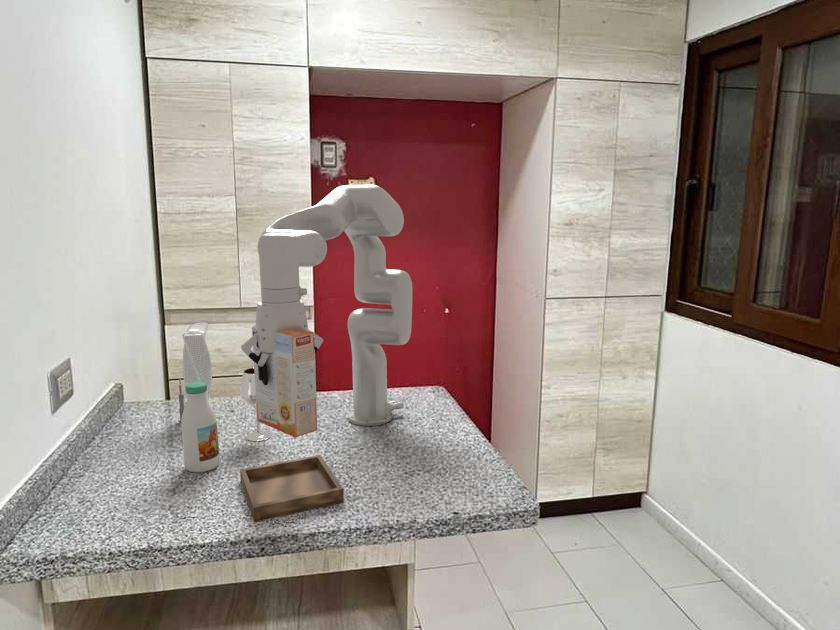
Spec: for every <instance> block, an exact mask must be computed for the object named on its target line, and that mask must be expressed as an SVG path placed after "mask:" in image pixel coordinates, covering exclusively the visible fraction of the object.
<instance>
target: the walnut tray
mask: <svg viewBox="0 0 840 630" xmlns="http://www.w3.org/2000/svg"><path fill="white" fill-rule="evenodd" d="M239 473H240V474H239V475H240V483H241V486H242V490H243V492H244V495H245V498H246V501H247V505H248V508H249V510H250V514H251V516H252V519H253V520H252V521H253V522H254V523H257V522H261V521H267V520H269V519H275V518H279V517H280V518H281V517H283V516H287V515H292V514H293V515H294V514H297V513H302V512H307V511H311V510H315V509H320V508H325V507H329V506H333V505H337V504H342V503H345V500H344V498H345V497H344V496H345V494H344V488H343V486H342V485H341V483H340V481H339V480H338V479H337V477H336V476H335V474H334V473H333V471H332V470H331V468H330V466H329V465H328V464H327V462H326V461H325V459H324V458H323V456H322V455H321V454H317V455H311V456H307V457H301V458H295V459H290V460H285V461H284V460H283V461H279V462H274V463H268V464H263V465H256V466H252V467H251V466H250V467H247V468H242V469H241V468H240V469H239Z"/></svg>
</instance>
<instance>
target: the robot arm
mask: <svg viewBox="0 0 840 630" xmlns="http://www.w3.org/2000/svg"><path fill="white" fill-rule="evenodd" d="M404 218H405V217H404V213H403V210H402V208H401V207H400V204H399V203H398V202H397V201H396V200H395V199H394V198H393V197H392V196H391V194H389V192H387V191H386V190H385V189H383V187H380V186H379V185H376V184H346V185H340V186H337V187H336V188H334V189H333V190H331V192H330V193H328V194H327V195H326V196H325V197H324V198H322V199H321V200H320V201H319V202H317V204H315V205H313V206H310V207H307V208H304V209H301V210H299V211H296V212H293V213H291V214H287V215H285V216H283V217H280V218H279V219H277V220H276V221H273V223H271V224H270V225H269V226H267V228H265V229H264V230H263V232H262V233H261V235H260V236H259V238H258V242H257V245H256V246H257V247H256V248H257V254H258V259H259V260H258V263H259V278H260V293H261V295H260V296H261V297H260V298H261V301H259V302H258V303H257V304H256V311H255V326H256V334H255V335H252V336H251V337H250V338H249V339H247V341H245V342H244V343H243V344H242V345H241V346H240V349H241V351H243V352H244V354H245V355H246V356H247V357H248V358H249V360H251V361H253V363H254V362H255V363H256V364H258V374H259V380H260V381H261V380H262V383H263V384H264V385H267V384H268V374H267V366H266V364H265V362H266V360H267V358H268V356H269V354H271V353H273V352H274V339H275V332H278V331H286V330H295V329H304V330H308V331H311V330H310V329H309V325H308V318H307V311H306V308H305V307H306V306H305V303H304V300H302V297H303V296H307V294H308V288H303V287H301V286H300V268H301V267H305V268H308V267H309V268H311V267H312V268H313V267H315V266H318V265H320V264H321V263H322V262H323V261H324V260H325V259H326V255H327V253H328V245H327V242H326V241H329V240H333V239H334V238H338V237H339V236H340V235H341V234H342V233H343V232H344V233H345V234H346V236H347V237H348V239H349V241H350V243H351V245H352V249H353V252H354V253H353V254H354V255H353V256H354V266H353V267H354V268H353V270H354V273H353V280H354V281H353V288H354V289H353V290H354V297H355V298H356V300H357V301H359V302H361V303H364V304H365V303H366V304H372V305H373V304H376V305H391V308H392V309H385V308H373V307H372V308H371V307H362V308H357V309H355V310H353V311H352V312H350V314H349V316H348V319H347V330H348V335H349V340H350V346H351V347H350V349H351V358H352V359H351V360H352V361H351V362H352V363H351V364H352V367H351V368H352V393H353V394H352V396H353V397H352V399H353V410H351V411H350V412H349V413H348V414H347V416H348V417H347V418H348V421H349V422H351V423H352V424H354V425H358V426H364V427H371V426H372V427H373V426H381V425H385V424H387V423H389V422H391V421H392V419H393V416H394V413H393V412H394V410H401V409H402V410H403V409H404V403H403V401H398V402H396V400H391V401H388V378H387V377H388V376H387V375H388V373H387V372H388V371H387V367H388V366H387V356H386V353H385V351H384V349H383V347H382V345H388V346H389V345H390V346H402V345H406V344H407V343H408V342H409V340H410V338H411V334H412V323H413V322H412V320H413V281H412V279H411V275H410V274H409V273H408V272H407V271H404V270H401V269H392V268H390V269H389V268H387V266H386V265H387V263H386V262H387V261H386V259H387V258H386V257H387V253H386V247H385V246H384V244H383V242H382V240H381V239H380V238H379V237H395V236H398V235H399V234H400V232H402V230H403V228H404V222H405V219H404ZM323 343H324V339H323V338H322V337H320V336H319V335H318V334H316V333H315V332H314V345H315V354H317V352H318V350H319V349H320V347H321V346H322V344H323ZM255 344H256V346H257V348H259V349H260V353H259V354H258V356H257V355H256V354H255V353H254V352H253V350H252V348H253V345H255Z"/></svg>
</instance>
